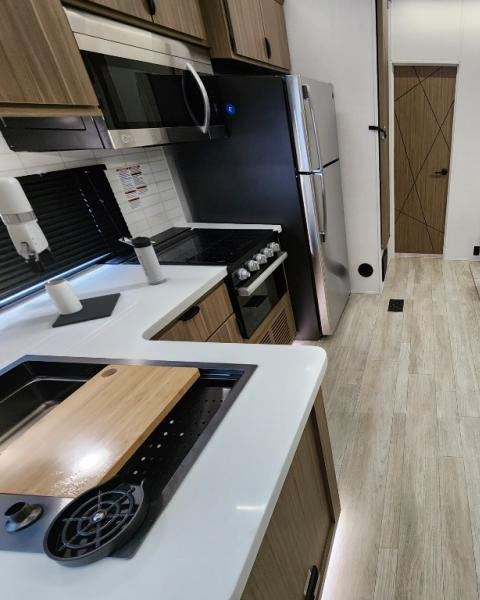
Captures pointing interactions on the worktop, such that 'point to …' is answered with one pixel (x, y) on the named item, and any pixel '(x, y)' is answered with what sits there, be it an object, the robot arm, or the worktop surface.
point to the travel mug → (148, 260)
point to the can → (63, 296)
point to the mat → (90, 310)
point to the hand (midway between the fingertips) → (45, 267)
